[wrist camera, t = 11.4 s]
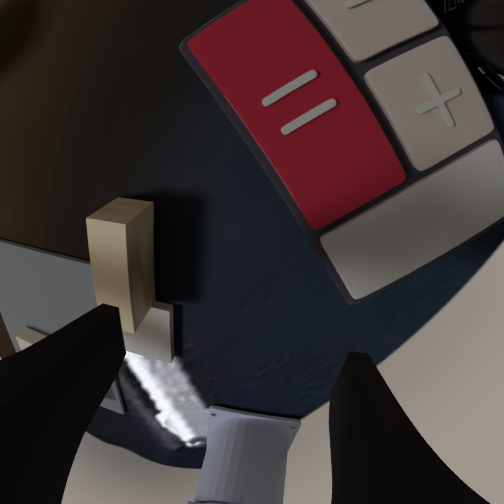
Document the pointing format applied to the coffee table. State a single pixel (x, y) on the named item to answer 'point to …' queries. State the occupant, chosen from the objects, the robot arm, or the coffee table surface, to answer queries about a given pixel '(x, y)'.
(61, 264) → the mat
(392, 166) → the calculator
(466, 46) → the supplement bottle
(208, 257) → the coffee table surface
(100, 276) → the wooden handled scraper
